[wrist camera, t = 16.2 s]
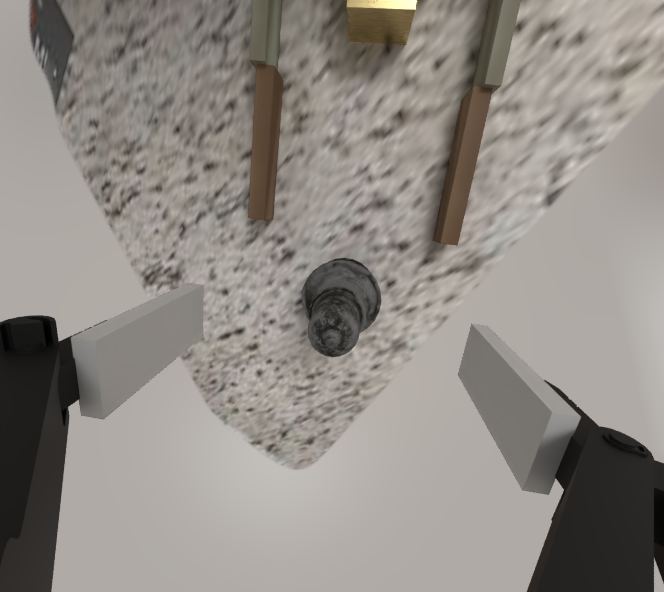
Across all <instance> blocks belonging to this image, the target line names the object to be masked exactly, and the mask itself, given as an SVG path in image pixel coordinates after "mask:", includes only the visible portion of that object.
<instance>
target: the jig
mask: <svg viewBox="0 0 664 592" xmlns="http://www.w3.org/2000/svg"><path fill="white" fill-rule="evenodd" d="M520 2H521V0H490V3H489V8H488V12H487V17H486V22H485V27H484V31H483V36H482V41H481V46H480V50H479V55H478V60H477V65H476V69H475V74H474V79H473V84H472V89H471V90H470V91H469V92H468V94H467V95H466V96H465V97H464V98H463V99H462V102H461V107H460V111H459V116H458V121H457V126H456V131H455V136H454V141H453V146H452V150H451V155H450V160H449V165H448V170H447V175H446V180H445V185H444V190H443V194H442V199H441V204H440V209H439V214H438V219H437V224H436V229H435V233H434V238H433V241H436V242H438V243H442V244H450V245H457V246H458V241H459V237H460V232H461V228H462V223H463V219H464V215H465V210H466V206H467V201H468V197H469V192H470V188H471V183H472V179H473V175H474V170H475V166H476V161H477V157H478V152H479V148H480V144H481V139H482V135H483V130H484V126H485V121H486V117H487V113H488V108H489V104H490V99H491V95H492V94H493V93H494V92H495V91H496V90H497V89H498V88H499V87H500V86H501V84H502V80H503V75H504V71H505V67H506V62H507V58H508V54H509V49H510V45H511V41H512V36H513V32H514V28H515V23H516V19H517V15H518V10H519V6H520ZM281 12H282V0H253V3H252V24H251V44H250V61H251V62H252V63H253V65H254V66H255V68H256V85H255V104H254V122H253V140H252V158H251V177H250V195H249V213H248V218H253V219H260V220H273V214H274V200H275V187H276V174H277V160H278V147H279V133H280V120H281V107H282V93H283V79H282V78H281V76H280V74H279V73H278V71H277V70H278V55H279V41H280V27H281Z"/></svg>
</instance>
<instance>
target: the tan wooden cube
mask: <svg viewBox="0 0 664 592" xmlns="http://www.w3.org/2000/svg"><path fill="white" fill-rule="evenodd" d="M415 9H416V0H347V19H348V33H349V42H361V43H384V44H406V43H407V39H408V36H409V32H410V28H411V24H412V20H413V17H414V13H415Z"/></svg>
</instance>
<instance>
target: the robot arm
mask: <svg viewBox="0 0 664 592" xmlns="http://www.w3.org/2000/svg"><path fill="white" fill-rule="evenodd" d="M202 336H203V285H199V284H192V283H187V284H185V285H183V286H181V287H178V288H176V289H174V290H172V291H170V292H168V293H165V294H163V295H161V296H159V297H157V298H155V299H152V300H150V301H148V302H146V303H144V304H142V305H139V306H137V307H135V308H133V309H131V310H128V311H126V312H124V313H122V314H120V315H118V316H115V317H113V318H111V319H109V320H105V321H103V322H101V323H99V324H97V325H95V326H94V327H90V328H88V329H86V330H84V331H81V332H79V333H77V334H75V335H73V336H70V337H68V338H66V339H64V340H62V341H58V334H57V327H56V321H55V319H54V318H52V317H49V316H24V317H17V318H13V319H8V320H5V321H3V322H0V592H51V589H52V579H53V570H54V560H55V550H56V541H57V531H58V521H59V511H60V502H61V493H62V482H63V473H64V464H65V454H66V445H67V435H68V425H69V411H68V406H70V405H71V404H73V403H74V402H76V401H77V400H79V404H80V411H81V416H88V417H93V418H99V419H105V418H106V417H107V416H108V415H109V414H111V413H112V412H113V411H114V410H115V409H116V408H118V407H119V406H120V405H121V404H123V403H124V402H125V401H126V400H127V399H128V398H130V397H131V396H132V395H133V394H134V393H136V392H137V391H138V390H139V389H140V388H141V387H143V386H144V385H145V384H146V383H148V382H149V381H150V380H151V379H152V378H154V377H155V376H156V375H157V374H158V373H160V372H161V371H162V370H163V369H164V368H166V367H167V366H168V365H169V364H170V363H171V362H173V361H174V360H175V359H176V358H177V357H179V356H180V355H181V354H182V353H183V352H185V351H186V350H187V349H188V348H189V347H191V346H192V345H193V344H194V343H195V342H197V341H198V340H199V339H200V338H201V337H202ZM458 376H459V378H460V379H461V381H462V383H463V385H464V387H465V389H466V390H467V392H468V394H469V395H470V397H471V399H472V401H473V402H474V404H475V406H476V408H477V410H478V412H479V413H480V415H481V417H482V419H483V420H484V422H485V424H486V426H487V428H488V430H489V431H490V433H491V435H492V437H493V438H494V440H495V442H496V444H497V446H498V448H499V449H500V451H501V453H502V455H503V456H504V458H505V460H506V462H507V464H508V465H509V467H510V469H511V471H512V473H513V474H514V476H515V478H516V480H517V481H518V483H519V485H520V487H521V489H522V490H524V491H529V492H536V493H542V494H547V495H548V494H549V493H550V490H551V488H552V485H553V483H554V481H555V479H557V480H558V482H559V483H560V485H561V486H562V488H563V489H564V492H563V494H562V497H561V499H560V501H559V503H558V506H557V508H556V510H555V513H554V515H553V517H552V524H551V526H550V529H549V532H548V535H547V538H546V540H545V543H544V546H543V548H542V551H541V554H540V557H539V559H538V562H537V565H536V568H535V571H534V573H533V576H532V579H531V582H530V584H529V587H528V590H527V592H654V558H655V561H656V563H657V566H658V569H659V572H660V574H661V577H662V580H663V582H664V463H661V462H658V461H655V460H654V458H653V456H652V453H651V452H650V451H649V450H648V449H647V448H646V447H645V446H644V445H642V444H641V443H639V442H638V441H636V440H635V439H633V438H631V437H629V436H627V435H625V434H623V433H621V432H618V431H616V430H613V429H610V428H606V427H599V426H598V425H597V424H596V423H595V422H594V421H593V420H592V419H590V418H589V416H587V415H586V414H585V413H584V412H583V411H582V410H581V409H580V408H579V407H577V405H576V404H575V403H574V402H573V401H572V400H570V399H569V398H568V397H567V396H566V395H565V394H564V393H563V392H562V391H561V390H560V389H559V388H557V387H555V386H554V385H552V384H550V383H549V382H547V381H546V380H543V379H542V378H541V377H540V376H539V375H538V374H537V373H536V372H534V371H533V370H532V369H531V368H530V367H529V366H528V365H527V364H526V363H525V362H524V361H523V360H522V359H521V358H520V357H519V356H518V355H517V354H516V353H515V352H514V351H513V350H512V349H511V348H510V347H509V346H508V345H507V344H506V343H505V342H503V340H502V339H501V338H500V337H499V336H498V335H497V334H496V333H495V332H494V331H492V330H491V329H490V328H489V327H488V326H484V325H476V324H471V328H470V332H469V335H468V339H467V343H466V346H465V350H464V354H463V358H462V361H461V365H460V369H459V372H458Z"/></svg>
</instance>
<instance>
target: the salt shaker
mask: <svg viewBox="0 0 664 592" xmlns="http://www.w3.org/2000/svg"><path fill="white" fill-rule="evenodd" d="M302 304H303V309H304V311H305V314H306V316H307V318H308V319H309V321H310V322H309V325H308V336H309V340H310V342H311V344H312V346H313V347H314V348H315V350H317V351H318V352H319V353H321V354H323V355H325V356H330V357H337V356H341V355H344V354H346V353H348V352H349V351H350V350H351V349H352V348H353V347H354V346H355V344H356V342H357V340H358V338H359V333H361V332H362V331H364V330H365V329H367V328H368V327H369V326H370V325H371V324H372V323H373V322H374V321H375V319H376V317H377V315H378V313H379V310H380V305H381V293H380V289H379V286H378V283H377V281H376V280H375V278H374V277H373V275H372V274H371V273H370V272H369V270H368V269H367V268H366V267H365V266H364V265H362V264H361V263H360V262H358V261H355V260H353V259H347V258H340V259H335V260H332V261H329V262H328V263H325V264H323V265H321V266H319V267H318V268H317V269H315V270H314V271H313V272H312V273H311V275H310V276H309V277H308V278H307V280H306V282H305V285H304V287H303V292H302Z"/></svg>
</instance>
